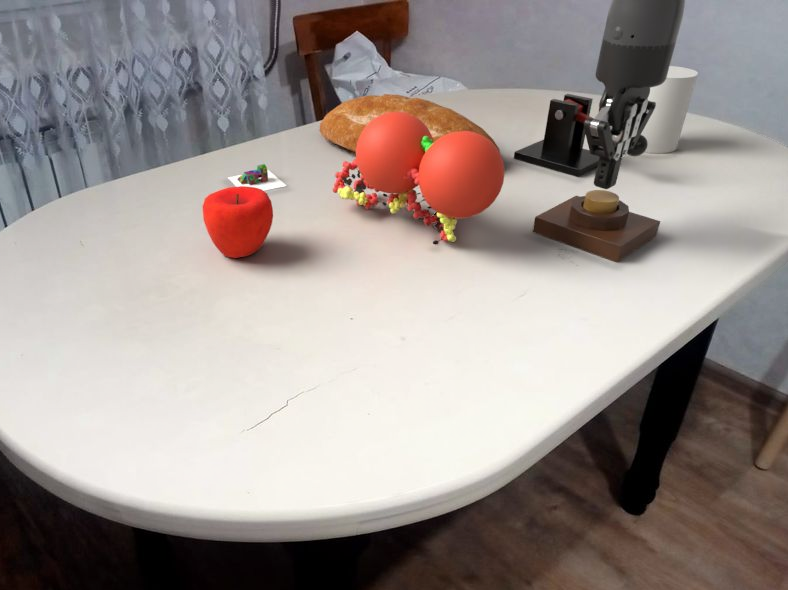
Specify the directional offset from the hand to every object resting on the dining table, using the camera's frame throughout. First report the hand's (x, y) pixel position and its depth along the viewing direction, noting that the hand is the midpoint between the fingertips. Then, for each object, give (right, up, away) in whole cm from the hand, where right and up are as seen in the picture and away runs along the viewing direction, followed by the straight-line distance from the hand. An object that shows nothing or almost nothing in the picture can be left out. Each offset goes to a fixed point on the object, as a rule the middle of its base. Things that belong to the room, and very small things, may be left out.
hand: (604, 185), depth 83 cm
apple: (-46, -8, +3) cm, 47 cm away
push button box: (0, -5, +4) cm, 7 cm away
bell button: (0, -2, +2) cm, 3 cm away
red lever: (+7, +13, +20) cm, 25 cm away
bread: (-21, +14, +32) cm, 41 cm away
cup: (+21, +15, +31) cm, 40 cm away
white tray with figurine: (-46, +6, +22) cm, 51 cm away
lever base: (+4, +11, +26) cm, 28 cm away
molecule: (-24, -4, +8) cm, 25 cm away
